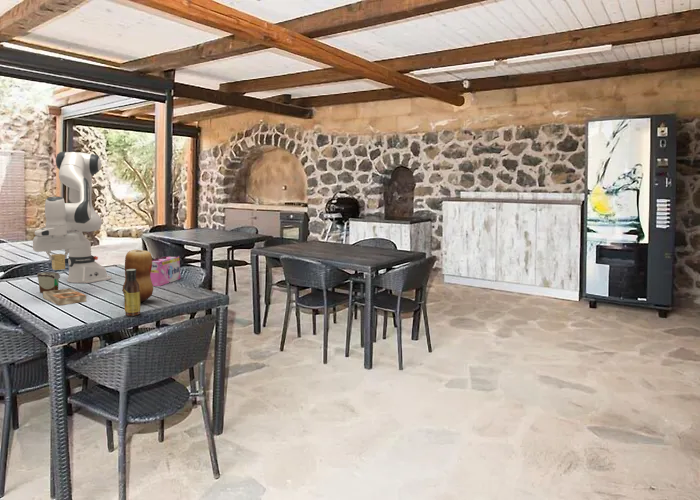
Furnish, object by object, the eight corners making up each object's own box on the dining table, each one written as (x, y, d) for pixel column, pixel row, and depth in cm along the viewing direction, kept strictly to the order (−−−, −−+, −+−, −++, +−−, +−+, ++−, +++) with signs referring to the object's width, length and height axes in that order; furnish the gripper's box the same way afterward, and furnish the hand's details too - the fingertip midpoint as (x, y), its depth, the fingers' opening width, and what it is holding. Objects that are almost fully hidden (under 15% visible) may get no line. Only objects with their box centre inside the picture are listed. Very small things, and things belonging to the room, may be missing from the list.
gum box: (169, 277, 306) (169, 255, 304) (182, 278, 305) (181, 255, 303) (146, 285, 283) (145, 261, 281) (159, 286, 281) (158, 262, 279)
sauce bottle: (127, 312, 225) (126, 268, 223) (142, 312, 226) (141, 268, 223) (122, 316, 219) (120, 270, 216) (137, 316, 220) (136, 270, 217)
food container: (66, 292, 262) (65, 273, 260) (56, 294, 256) (55, 275, 254) (48, 290, 266) (47, 271, 264) (37, 292, 260) (36, 273, 258)
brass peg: (62, 267, 252) (61, 253, 251) (65, 269, 249) (64, 254, 248) (52, 268, 249) (51, 254, 248) (55, 270, 246) (54, 255, 245)
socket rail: (69, 294, 258) (69, 287, 258) (86, 301, 244) (86, 294, 243) (43, 297, 249) (42, 291, 249) (58, 305, 235) (58, 298, 235)
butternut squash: (152, 305, 240) (150, 251, 237) (121, 306, 236) (119, 252, 233) (154, 298, 253) (153, 248, 250) (125, 299, 249) (123, 248, 246)
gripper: (77, 229, 256) (78, 256, 258) (30, 231, 241) (32, 260, 243) (82, 230, 252) (83, 258, 254) (35, 232, 237) (36, 262, 239)
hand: (58, 259), depth 248 cm, fingers closed on brass peg, 4 cm apart
